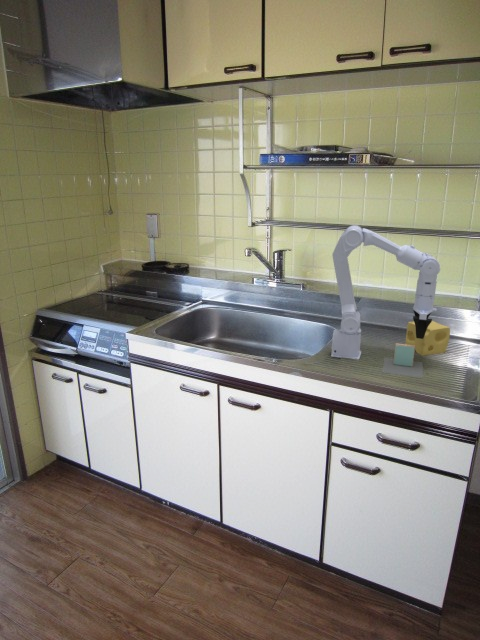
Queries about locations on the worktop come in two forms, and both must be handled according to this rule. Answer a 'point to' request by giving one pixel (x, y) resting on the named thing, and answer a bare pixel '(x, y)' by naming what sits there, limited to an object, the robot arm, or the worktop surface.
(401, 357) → the tile
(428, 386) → the worktop surface
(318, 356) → the worktop surface
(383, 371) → the mat
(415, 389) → the worktop surface
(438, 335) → the cheese
